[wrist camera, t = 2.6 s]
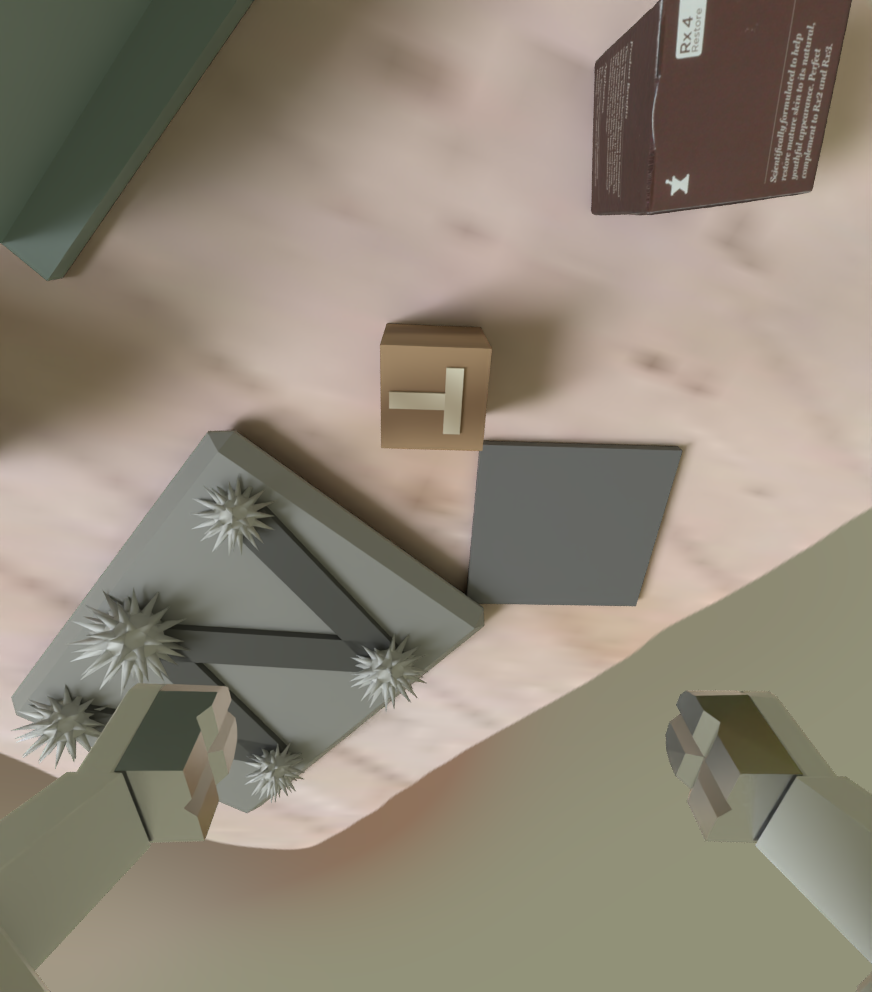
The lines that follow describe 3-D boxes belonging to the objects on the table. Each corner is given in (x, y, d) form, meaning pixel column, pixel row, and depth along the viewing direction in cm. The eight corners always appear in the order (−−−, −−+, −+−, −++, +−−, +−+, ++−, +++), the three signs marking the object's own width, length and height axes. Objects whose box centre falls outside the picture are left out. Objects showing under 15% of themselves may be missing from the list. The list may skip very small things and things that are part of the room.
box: (712, 201, 25) (814, 197, 18) (587, 216, 25) (644, 218, 18) (735, 36, 22) (866, -37, 15) (592, 55, 22) (663, -9, 15)
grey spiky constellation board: (259, 793, 47) (234, 882, 41) (20, 687, 39) (-56, 776, 33) (491, 603, 36) (505, 684, 30) (225, 410, 29) (171, 465, 23)
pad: (480, 440, 30) (481, 444, 30) (678, 446, 31) (682, 450, 30) (466, 597, 36) (466, 603, 36) (632, 600, 37) (635, 606, 36)
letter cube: (386, 323, 27) (379, 345, 23) (480, 326, 27) (492, 349, 23) (387, 413, 29) (381, 449, 25) (473, 415, 30) (482, 452, 25)
